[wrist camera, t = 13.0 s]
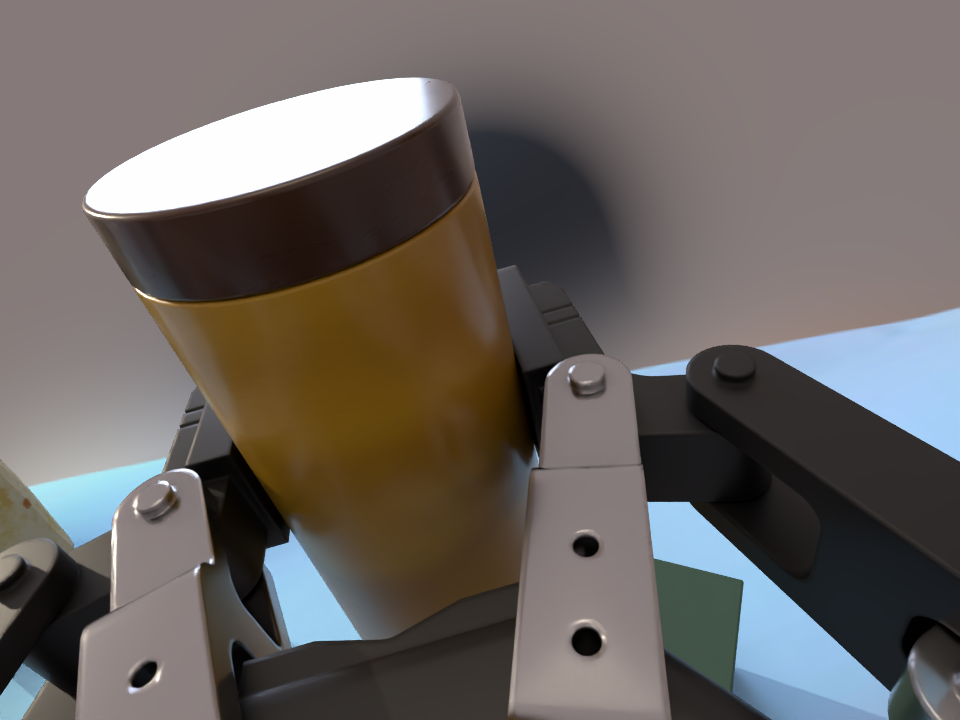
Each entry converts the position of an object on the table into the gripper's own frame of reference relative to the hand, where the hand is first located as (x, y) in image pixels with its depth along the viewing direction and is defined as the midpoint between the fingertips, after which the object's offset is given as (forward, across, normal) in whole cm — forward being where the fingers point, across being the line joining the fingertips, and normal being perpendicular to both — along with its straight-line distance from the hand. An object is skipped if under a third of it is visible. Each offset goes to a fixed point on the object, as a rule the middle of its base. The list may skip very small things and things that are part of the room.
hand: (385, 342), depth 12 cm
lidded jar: (-3, 0, +6) cm, 7 cm away
